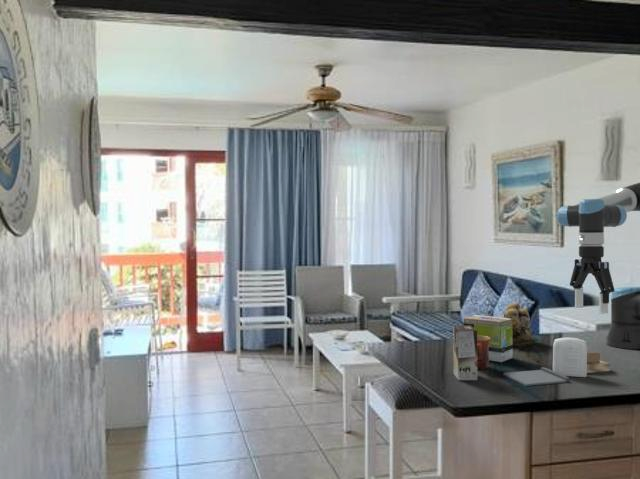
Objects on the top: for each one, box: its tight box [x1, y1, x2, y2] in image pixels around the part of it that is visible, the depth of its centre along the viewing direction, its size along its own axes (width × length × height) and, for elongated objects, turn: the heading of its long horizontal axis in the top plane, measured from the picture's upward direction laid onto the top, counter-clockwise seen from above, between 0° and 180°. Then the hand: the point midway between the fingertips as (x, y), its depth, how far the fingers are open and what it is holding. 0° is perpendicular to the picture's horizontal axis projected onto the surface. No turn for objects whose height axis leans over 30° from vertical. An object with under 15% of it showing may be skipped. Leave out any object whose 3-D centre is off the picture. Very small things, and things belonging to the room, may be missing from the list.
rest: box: [587, 359, 611, 374], centre depth 194 cm, size 12×6×2 cm, turn 103°
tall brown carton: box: [587, 350, 601, 364], centre depth 193 cm, size 14×4×4 cm, turn 99°
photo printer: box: [552, 336, 588, 378], centre depth 187 cm, size 10×4×12 cm, turn 74°
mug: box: [477, 335, 491, 370], centre depth 198 cm, size 12×9×10 cm
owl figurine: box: [502, 302, 536, 349], centre depth 233 cm, size 18×12×17 cm, turn 137°
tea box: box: [463, 314, 514, 363], centre depth 213 cm, size 15×10×15 cm, turn 47°
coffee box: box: [452, 324, 478, 381], centre depth 188 cm, size 9×6×16 cm
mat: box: [503, 366, 570, 387], centre depth 185 cm, size 15×13×1 cm
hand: (591, 310), depth 193 cm, fingers open, 11 cm apart
